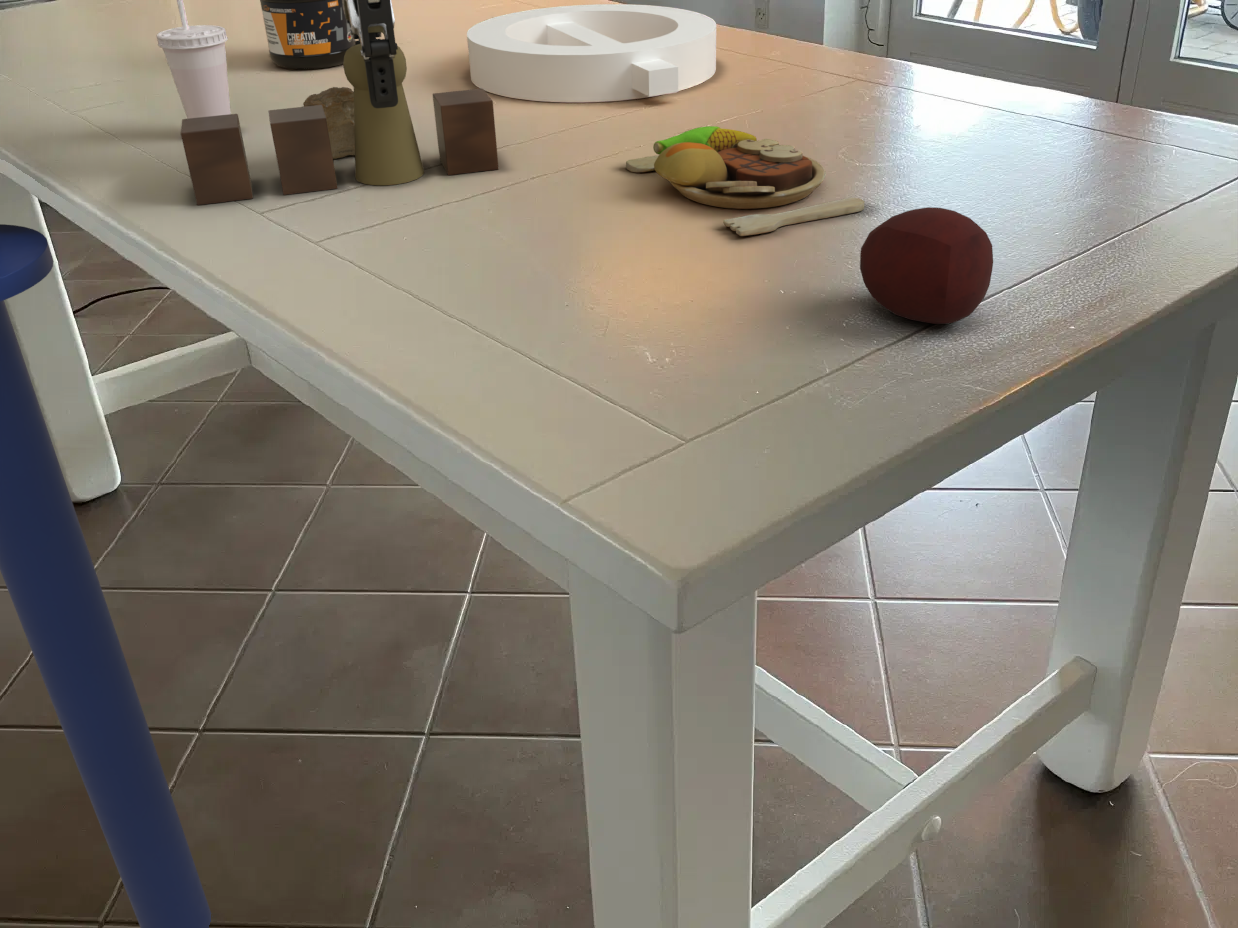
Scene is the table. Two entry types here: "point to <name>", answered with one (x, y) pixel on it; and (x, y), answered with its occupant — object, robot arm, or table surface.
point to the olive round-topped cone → (382, 128)
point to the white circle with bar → (592, 52)
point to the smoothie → (198, 66)
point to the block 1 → (216, 159)
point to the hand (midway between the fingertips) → (379, 95)
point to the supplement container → (306, 33)
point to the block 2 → (303, 149)
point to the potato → (928, 265)
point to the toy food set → (742, 176)
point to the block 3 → (465, 131)
